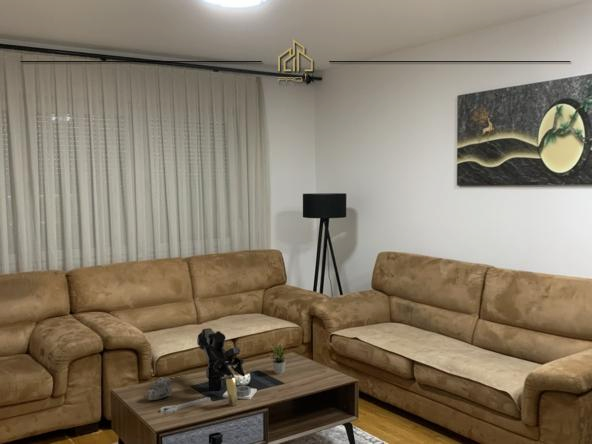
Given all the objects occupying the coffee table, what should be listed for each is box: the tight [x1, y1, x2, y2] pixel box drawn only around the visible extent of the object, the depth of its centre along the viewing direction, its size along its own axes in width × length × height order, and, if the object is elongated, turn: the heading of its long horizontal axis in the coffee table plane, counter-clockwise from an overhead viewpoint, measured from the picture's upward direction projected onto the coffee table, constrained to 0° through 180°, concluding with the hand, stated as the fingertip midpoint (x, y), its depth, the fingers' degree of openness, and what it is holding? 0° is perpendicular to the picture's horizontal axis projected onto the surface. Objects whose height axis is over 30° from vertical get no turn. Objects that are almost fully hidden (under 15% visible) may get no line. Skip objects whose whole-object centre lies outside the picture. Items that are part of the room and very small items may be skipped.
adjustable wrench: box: [159, 396, 211, 415], centre depth 271 cm, size 25×6×2 cm, turn 123°
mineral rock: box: [146, 376, 173, 401], centre depth 282 cm, size 13×11×10 cm
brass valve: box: [225, 375, 239, 407], centre depth 272 cm, size 4×4×14 cm
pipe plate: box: [222, 385, 258, 400], centre depth 285 cm, size 14×11×4 cm
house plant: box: [268, 342, 289, 375], centre depth 318 cm, size 14×14×16 cm
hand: (238, 376), depth 277 cm, fingers open, 9 cm apart
